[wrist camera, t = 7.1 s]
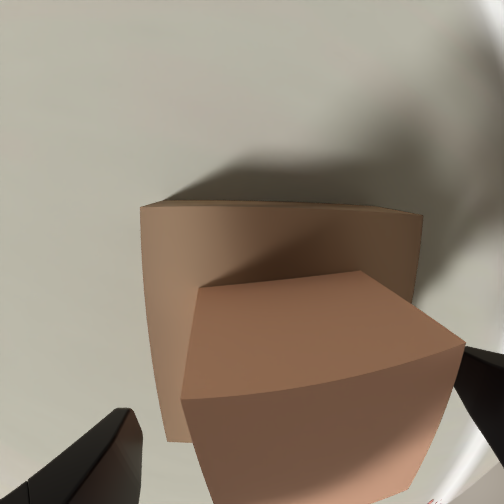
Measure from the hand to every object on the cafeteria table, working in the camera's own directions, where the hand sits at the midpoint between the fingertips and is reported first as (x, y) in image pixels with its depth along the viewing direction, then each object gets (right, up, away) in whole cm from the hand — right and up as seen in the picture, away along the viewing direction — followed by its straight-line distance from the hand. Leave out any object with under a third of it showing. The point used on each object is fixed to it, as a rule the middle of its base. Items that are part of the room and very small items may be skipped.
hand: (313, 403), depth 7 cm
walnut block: (-1, +1, +7) cm, 7 cm away
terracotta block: (0, 0, +3) cm, 3 cm away
